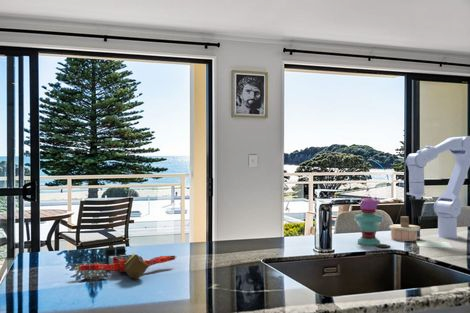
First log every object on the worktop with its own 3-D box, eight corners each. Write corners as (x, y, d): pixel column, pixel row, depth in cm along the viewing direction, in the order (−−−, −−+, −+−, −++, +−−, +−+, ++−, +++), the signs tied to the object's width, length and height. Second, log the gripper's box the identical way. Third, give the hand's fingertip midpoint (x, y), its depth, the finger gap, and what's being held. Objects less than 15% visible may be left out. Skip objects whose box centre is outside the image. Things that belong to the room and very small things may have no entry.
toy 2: (386, 242, 182) (385, 198, 182) (378, 247, 172) (378, 200, 173) (359, 240, 187) (359, 196, 187) (351, 244, 178) (350, 199, 178)
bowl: (390, 237, 195) (390, 226, 195) (415, 238, 192) (415, 227, 192) (391, 241, 185) (391, 230, 185) (418, 242, 182) (418, 231, 182)
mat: (415, 241, 183) (415, 240, 183) (447, 243, 180) (447, 241, 180) (418, 247, 172) (418, 246, 172) (452, 249, 168) (452, 247, 168)
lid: (388, 226, 196) (388, 214, 196) (418, 227, 192) (418, 215, 192) (390, 230, 184) (389, 218, 184) (421, 231, 181) (421, 219, 181)
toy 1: (67, 275, 145) (82, 289, 119) (66, 251, 146) (81, 260, 120) (159, 264, 160) (191, 275, 133) (158, 242, 160) (190, 248, 134)
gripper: (405, 181, 195) (405, 212, 195) (407, 183, 181) (407, 217, 181) (422, 181, 193) (423, 213, 193) (426, 183, 179) (427, 217, 179)
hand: (417, 215), depth 187 cm, fingers open, 7 cm apart
